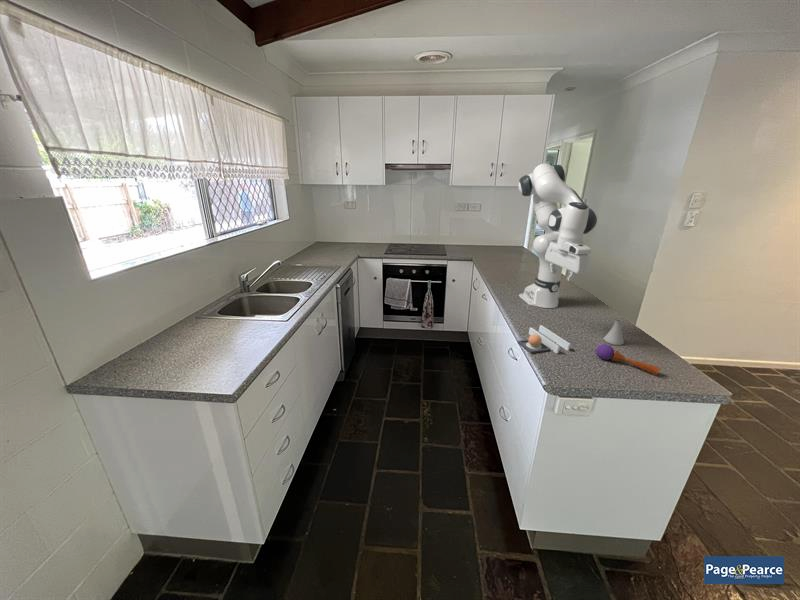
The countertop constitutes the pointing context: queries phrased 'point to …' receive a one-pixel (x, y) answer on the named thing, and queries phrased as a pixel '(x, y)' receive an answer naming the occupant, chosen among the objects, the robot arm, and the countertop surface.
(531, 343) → the ball
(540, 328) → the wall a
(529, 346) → the gray square tray
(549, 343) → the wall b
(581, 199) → the robot arm
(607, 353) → the purple and orange maraca
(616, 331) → the flask
